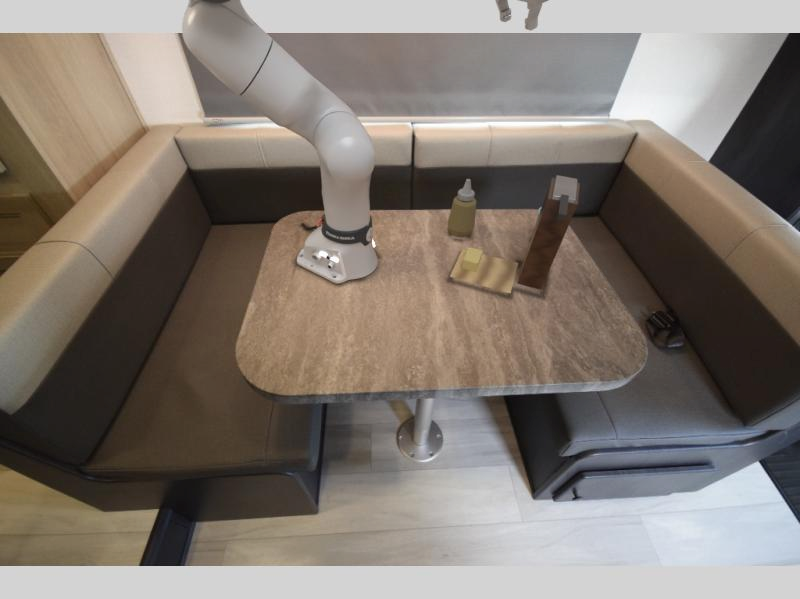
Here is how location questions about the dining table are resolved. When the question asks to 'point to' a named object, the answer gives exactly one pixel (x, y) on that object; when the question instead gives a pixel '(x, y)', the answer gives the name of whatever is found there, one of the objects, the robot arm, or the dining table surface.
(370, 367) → the dining table surface
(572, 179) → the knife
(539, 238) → the stand
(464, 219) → the squeeze bottle
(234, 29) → the robot arm
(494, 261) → the board
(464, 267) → the butter
